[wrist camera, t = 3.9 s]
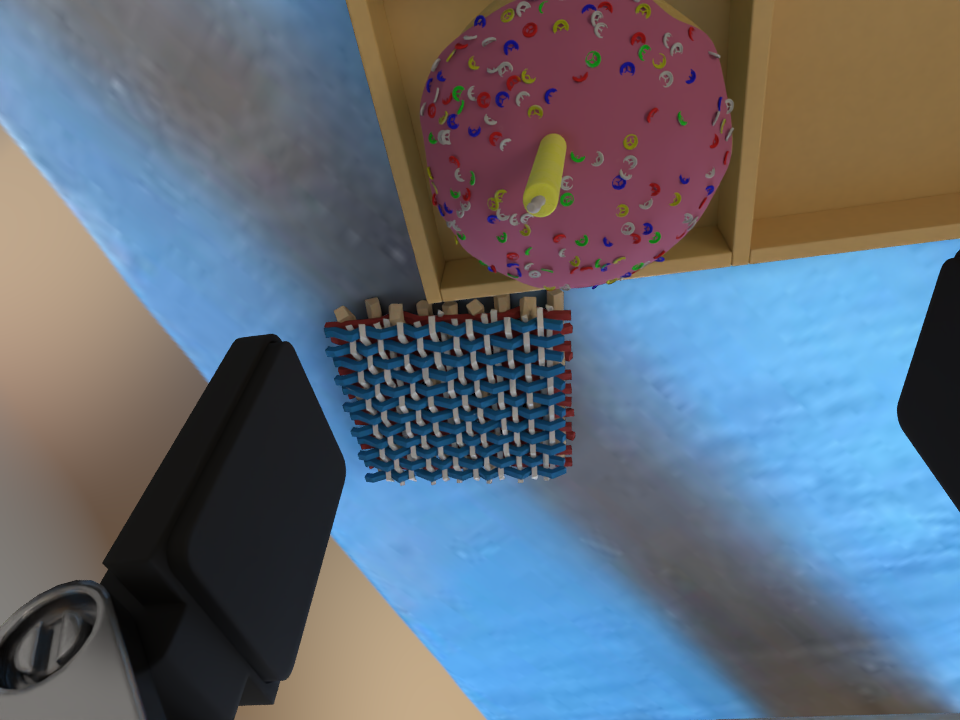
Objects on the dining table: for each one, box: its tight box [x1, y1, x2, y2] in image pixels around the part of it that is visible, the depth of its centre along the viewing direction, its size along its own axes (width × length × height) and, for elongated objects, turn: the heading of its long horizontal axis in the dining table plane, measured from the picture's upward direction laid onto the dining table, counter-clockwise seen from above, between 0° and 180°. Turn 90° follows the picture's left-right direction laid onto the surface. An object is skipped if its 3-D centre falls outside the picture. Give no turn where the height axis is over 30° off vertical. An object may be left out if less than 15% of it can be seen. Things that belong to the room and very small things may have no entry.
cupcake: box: [420, 0, 734, 291], centre depth 16 cm, size 9×8×12 cm
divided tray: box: [346, 0, 960, 304], centre depth 19 cm, size 23×12×3 cm, turn 100°
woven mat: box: [324, 289, 575, 486], centre depth 28 cm, size 10×11×2 cm
